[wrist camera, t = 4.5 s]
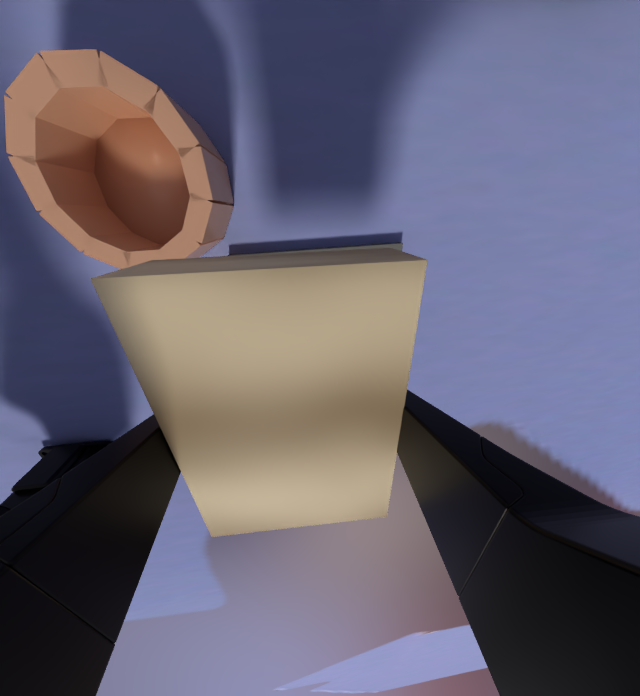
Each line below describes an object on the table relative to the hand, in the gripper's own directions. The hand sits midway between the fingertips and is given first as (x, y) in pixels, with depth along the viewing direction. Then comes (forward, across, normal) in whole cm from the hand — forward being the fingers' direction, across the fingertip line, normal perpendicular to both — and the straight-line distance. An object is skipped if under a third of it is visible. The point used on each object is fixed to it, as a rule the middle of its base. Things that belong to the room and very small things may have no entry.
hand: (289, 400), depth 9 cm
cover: (+1, 0, 0) cm, 1 cm away
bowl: (+11, +7, -8) cm, 15 cm away
